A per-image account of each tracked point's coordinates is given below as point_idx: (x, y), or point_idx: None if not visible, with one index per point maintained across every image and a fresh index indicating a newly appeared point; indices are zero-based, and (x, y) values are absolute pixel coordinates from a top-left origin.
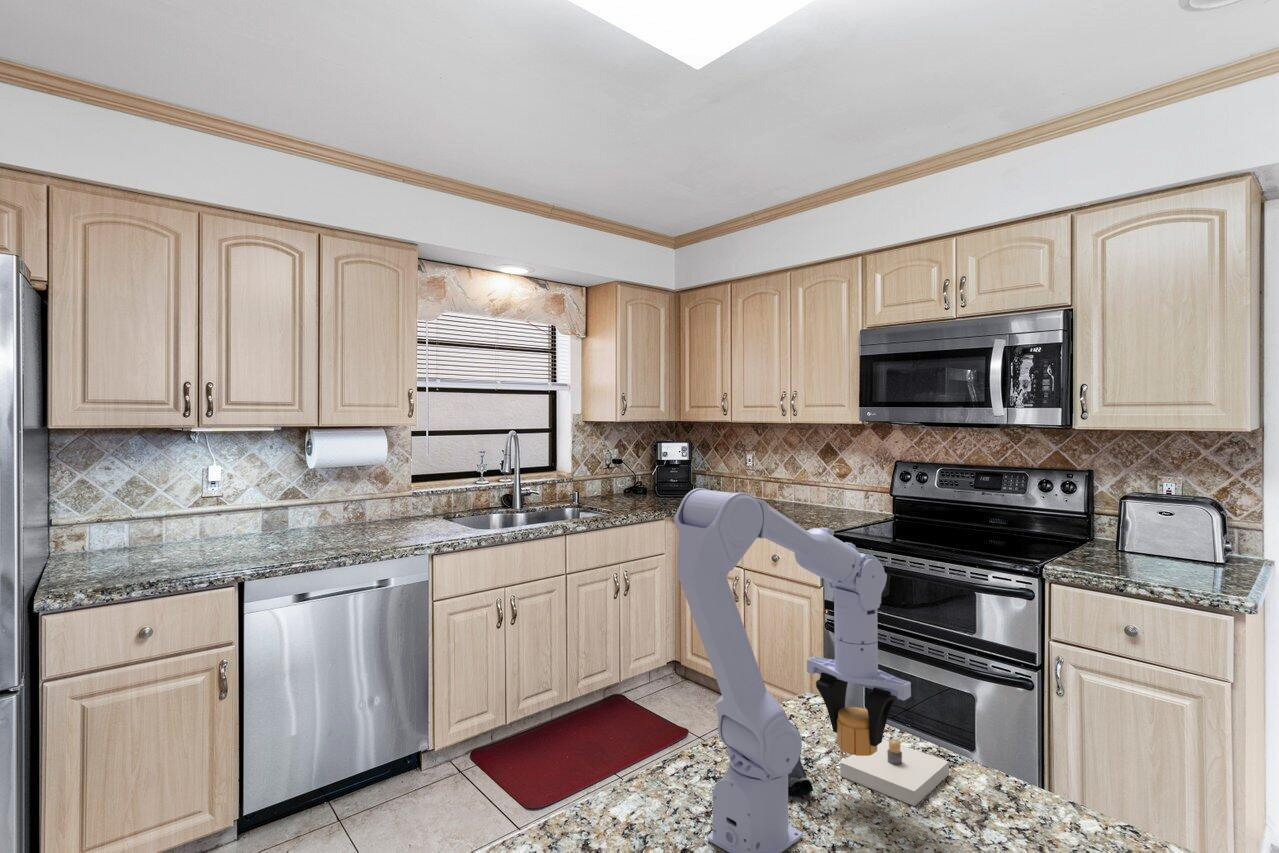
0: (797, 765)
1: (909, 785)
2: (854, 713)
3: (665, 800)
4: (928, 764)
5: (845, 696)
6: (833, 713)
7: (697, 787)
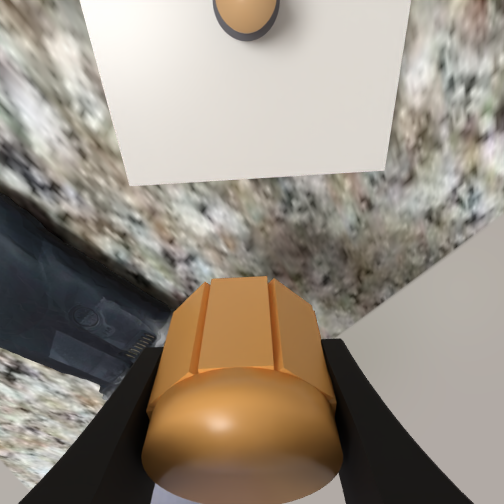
0: (86, 293)
1: (360, 146)
2: (228, 463)
3: (55, 442)
4: None
5: (97, 491)
6: (152, 485)
7: (37, 402)
